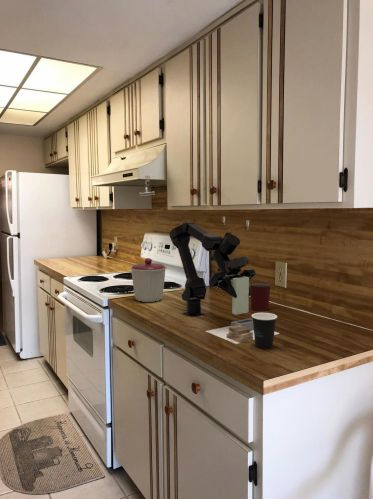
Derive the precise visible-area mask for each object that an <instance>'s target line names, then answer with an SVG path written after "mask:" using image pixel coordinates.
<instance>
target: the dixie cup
mask: <svg viewBox="0 0 373 499" xmlns="http://www.w3.org/2000/svg"><path fill="white" fill-rule="evenodd" d="M251 318H252V319H253V327H254V337H255V340H254V346H255V347H256V348H258V349H261V350H264V349H265V350H269V349H272V348H273V346H274V341H275V340H274V338H275V335H274V332H276V331H275V330H276V324H277V323H276V322H277V318H278V315H276V314H274V313H269V312H255V313H253V314H251Z"/></svg>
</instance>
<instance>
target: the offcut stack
mask: <svg viewBox="0 0 373 499" xmlns="http://www.w3.org/2000/svg"><path fill="white" fill-rule="evenodd" d="M230 326H231V325H230ZM227 338H229V339H232V340H234V341H237V342H239V343H238V344H241V343H246V341H247V342H251V341H254V340H253V332H250V329H248V328H246V327H243V326H241V325H237V326H231V327H229V334H227ZM250 340H251V341H250Z"/></svg>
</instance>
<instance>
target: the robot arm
mask: <svg viewBox="0 0 373 499" xmlns="http://www.w3.org/2000/svg"><path fill="white" fill-rule="evenodd" d="M191 236H192V237H193V238H194V239H196V240H197V241H199V242H200V243H201V246H202V248H203V249H204V250H205V251H206V252H213V253H210V258H209V261H211V262H212V261H214V262H215V264H216V267H217V272H214V273H213V275H212V276H211V277H210V279H208V280H209V282H208V283H209V286H210V287H211V288H217V289H221V290H222V291H223V292H225V293H227V294H229V295H230V296H231V297H234V298H237V294H236V292H235V290H234V288H233V283H232V281H233V278H239V277H249V283H250V282H251V281H252V280H253V278H254V277H255V276H256V275H257V273H256V270H255V269H254V268H246V269H243V271H242V268H244V267H247V265H249V259H248V258H247V256H246V255H243V256H242V255H241V257H237V258H233V259H232V258H231V257H230V256H231V255H233V254H234V252H235V251H236V250H237V248H238V247H239V246H240V244H241V240H240V238H239V237H237V235H235V234H232V232H230V231H229V232H228V231H227V232H225V234H224V236H223V237H222V236H221V235H218V234H213V233H209V232H208V231H206V230H205V229H203V228H202V227H200V226H198V225H197V224H196V222H193V221H188V222H187V221H185V222H183V223H182V224H180V225H178V226H176V227H174V228H172V229H171V231H169V238H170V241H171V242H172V243H171V244H172V245H173V246H175V248H176V249H177V250H178V254H179V259H180V261H181V264H182V268H183V271H184V274H185V275H184V276H185V283H184V284H185V285H184V288H185V290H183V293H182V294H181V299H182V301H183V302H186V310H185V311H183V314H185V315H186V316H190V317H196V316H200V315H204V314H205V313H204V312H203V311H202V304H201V301H202V300H205V299H206V294H207V285H206V283H205V279H204V277H200V276H199V275H198V273H197V272H198V271H197V268H196V266H195V262H194V258H193V256H192V252H191V250H190V249H191V248H190V245H189V244H190V240H191ZM241 271H242V272H241ZM240 272H241V273H240ZM250 295H251V293H250V286H249V297H250Z"/></svg>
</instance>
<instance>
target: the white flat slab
mask: <svg viewBox="0 0 373 499" xmlns="http://www.w3.org/2000/svg"><path fill="white" fill-rule="evenodd" d="M237 325H241V326H243V327H246V328H248V329H250V332H253V340H250V341H249V342H251V341H255V337H254V327H253V318H252V317H251V318H250V317H249V318H244V319H239V320H234V321H231V322H230V325H227V326H224V327H219V328H212V329H210V330H205V332H206V333H208V334H211V335H214V336H215V337H218V338H220V339H224V340H226V341H229V342H230V343H233V344H236V345H238V344H240V343H239V342H237V341H234V340H232V339H229V338H227V334H229V327H231V326H237ZM279 334H280V332H277V331H275V332H274V336H275V335H279ZM246 342H247V343H248V341H246ZM246 342H245V343H246Z"/></svg>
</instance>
